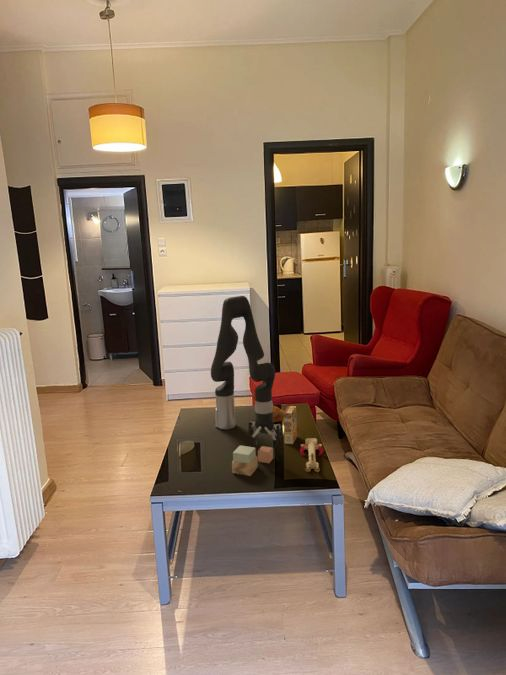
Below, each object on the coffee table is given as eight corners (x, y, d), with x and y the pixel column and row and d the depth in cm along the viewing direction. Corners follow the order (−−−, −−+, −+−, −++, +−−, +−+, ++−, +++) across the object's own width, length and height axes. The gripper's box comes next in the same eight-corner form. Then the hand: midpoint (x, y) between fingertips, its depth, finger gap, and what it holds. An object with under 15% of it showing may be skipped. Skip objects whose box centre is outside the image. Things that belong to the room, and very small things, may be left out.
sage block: (233, 461, 200) (232, 452, 199) (240, 454, 206) (239, 445, 205) (249, 464, 197) (248, 454, 196) (255, 456, 204) (255, 447, 203)
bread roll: (285, 427, 249) (287, 413, 247) (254, 424, 249) (256, 410, 247) (284, 416, 263) (285, 402, 261) (255, 413, 263) (256, 399, 261)
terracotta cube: (258, 461, 209) (257, 450, 208) (262, 456, 214) (262, 446, 213) (269, 463, 208) (268, 452, 206) (273, 458, 212) (272, 447, 211)
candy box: (293, 444, 224) (292, 413, 221) (283, 443, 225) (283, 412, 222) (297, 436, 232) (296, 406, 229) (288, 435, 234) (287, 405, 230)
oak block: (232, 473, 201) (231, 462, 200) (240, 464, 208) (239, 453, 207) (250, 476, 198) (249, 465, 197) (257, 467, 205) (257, 456, 204)
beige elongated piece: (325, 475, 199) (322, 443, 222) (325, 456, 196) (321, 426, 220) (300, 475, 200) (300, 443, 223) (300, 456, 197) (299, 426, 221)
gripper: (244, 411, 205) (246, 447, 208) (277, 414, 199) (278, 451, 203) (251, 405, 212) (253, 440, 215) (283, 408, 206) (284, 444, 210)
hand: (265, 446), depth 209 cm, fingers open, 8 cm apart
